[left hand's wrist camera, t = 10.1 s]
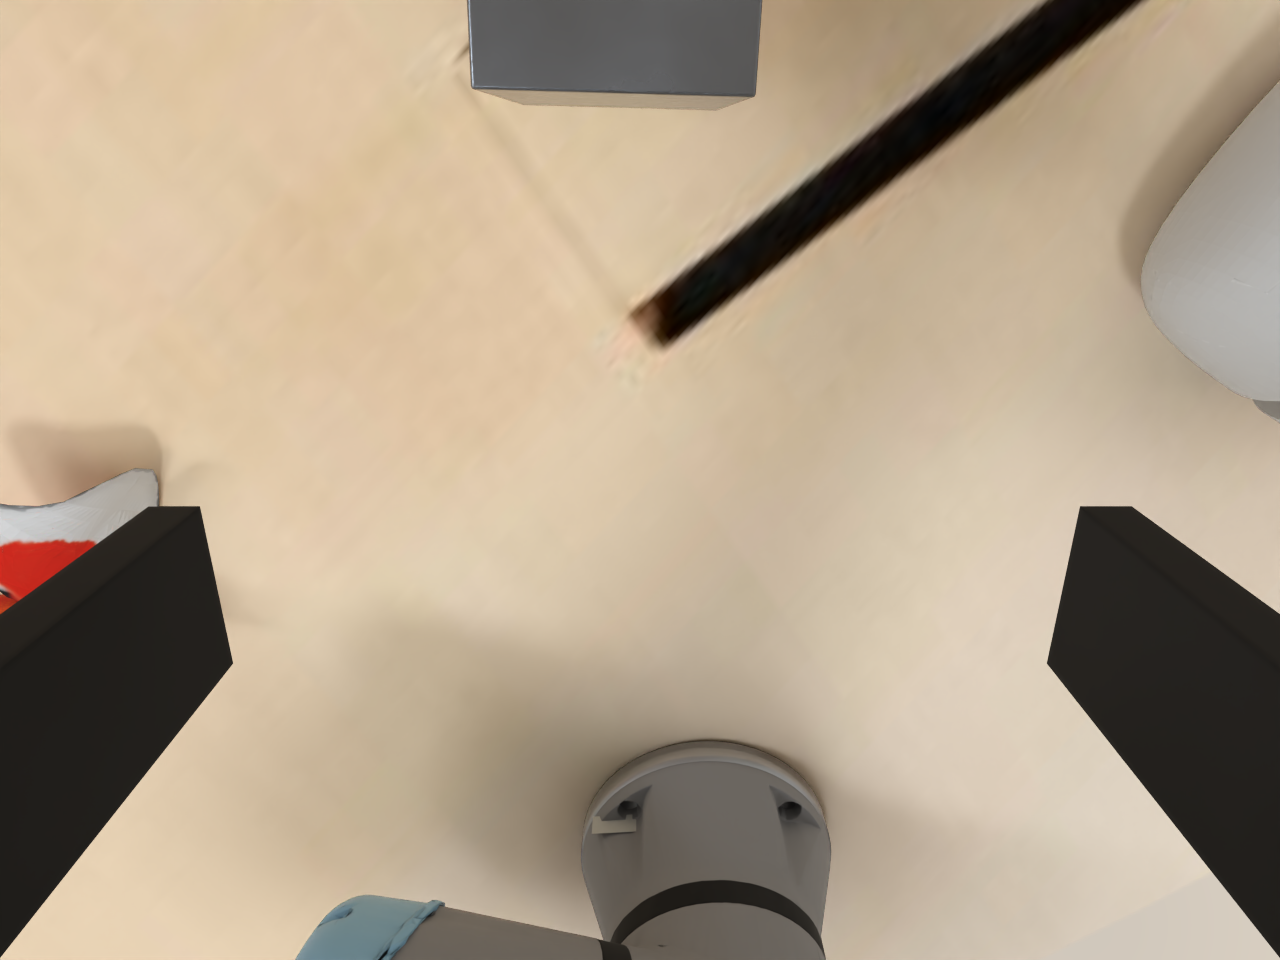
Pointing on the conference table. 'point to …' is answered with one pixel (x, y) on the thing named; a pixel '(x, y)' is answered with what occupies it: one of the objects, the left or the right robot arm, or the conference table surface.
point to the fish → (65, 530)
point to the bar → (616, 52)
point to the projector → (1226, 263)
